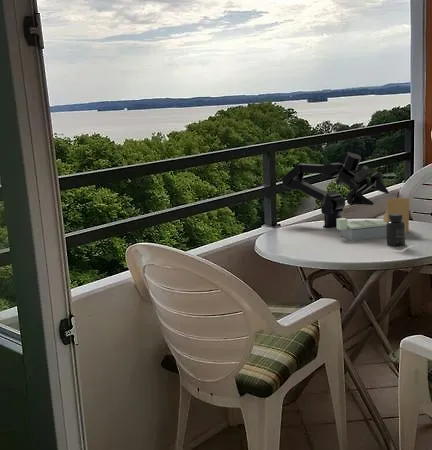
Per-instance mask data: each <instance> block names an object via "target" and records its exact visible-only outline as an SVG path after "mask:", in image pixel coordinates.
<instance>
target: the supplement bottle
mask: <svg viewBox="0 0 432 450" xmlns="http://www.w3.org/2000/svg"><path fill="white" fill-rule="evenodd" d="M402 219H403V218H402V214H389V220H390V221H389V222H387V224H386V234H387V237H386V246H389V247H395V248H397V247H399V248H400V247H405V246H406V233H405V223H404V222H403V221H402Z"/></svg>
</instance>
